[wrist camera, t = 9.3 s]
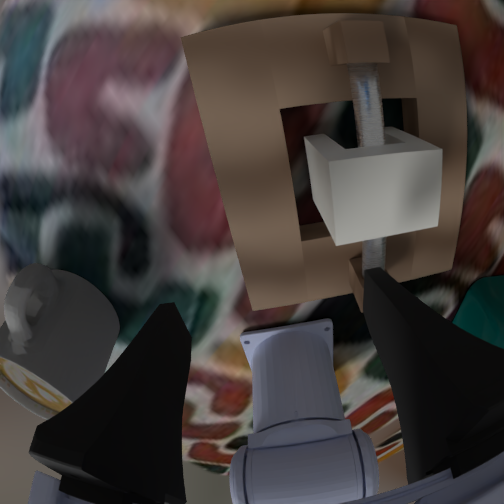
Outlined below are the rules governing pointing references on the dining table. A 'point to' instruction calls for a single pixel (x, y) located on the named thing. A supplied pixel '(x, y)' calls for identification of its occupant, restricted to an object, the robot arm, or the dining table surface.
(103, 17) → the dining table surface
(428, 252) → the shelf
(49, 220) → the dining table surface
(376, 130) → the hook bar
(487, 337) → the teal bottle
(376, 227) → the grey u-slotted block
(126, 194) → the dining table surface
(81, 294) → the coffee mug
